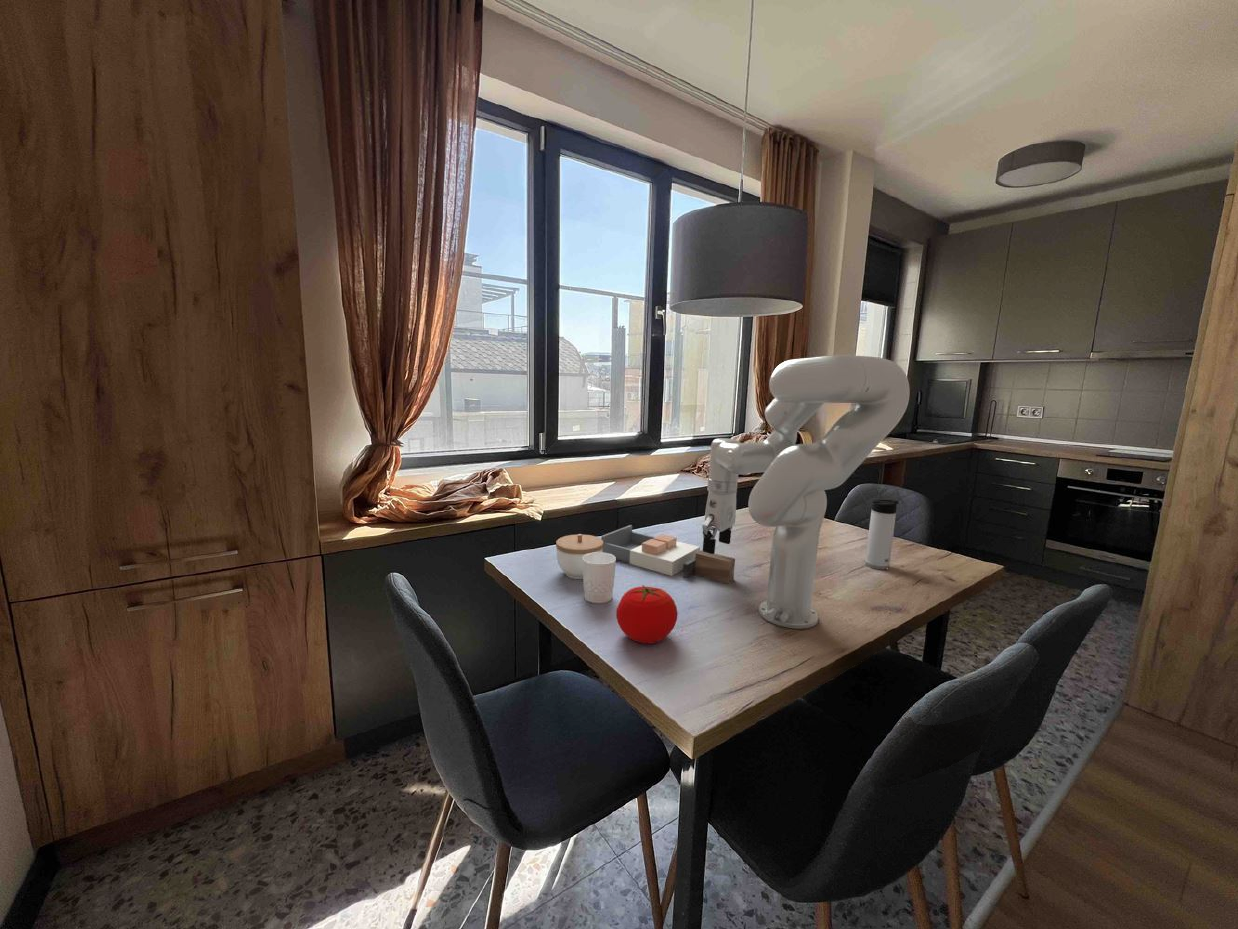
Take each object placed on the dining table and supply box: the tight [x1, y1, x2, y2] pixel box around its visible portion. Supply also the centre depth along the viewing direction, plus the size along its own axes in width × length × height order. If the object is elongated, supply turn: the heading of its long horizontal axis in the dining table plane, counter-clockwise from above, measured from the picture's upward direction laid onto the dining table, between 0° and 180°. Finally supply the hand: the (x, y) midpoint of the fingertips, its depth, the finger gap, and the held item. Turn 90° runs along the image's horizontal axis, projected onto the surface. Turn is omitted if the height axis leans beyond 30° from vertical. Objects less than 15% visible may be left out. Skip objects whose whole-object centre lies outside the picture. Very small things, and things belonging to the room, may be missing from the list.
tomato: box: [615, 584, 678, 644], centre depth 98 cm, size 11×12×10 cm
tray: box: [600, 524, 656, 565], centre depth 147 cm, size 15×10×6 cm
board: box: [629, 541, 701, 577], centre depth 140 cm, size 16×14×4 cm
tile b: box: [653, 533, 678, 550], centre depth 142 cm, size 5×5×2 cm
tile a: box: [642, 539, 666, 555], centre depth 138 cm, size 5×5×2 cm
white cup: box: [582, 552, 617, 604], centre depth 115 cm, size 8×8×10 cm
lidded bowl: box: [555, 533, 603, 580], centre depth 129 cm, size 13×13×11 cm
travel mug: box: [864, 499, 900, 570], centre depth 140 cm, size 6×7×20 cm
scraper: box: [682, 549, 736, 584], centre depth 131 cm, size 12×11×6 cm
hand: (716, 547), depth 130 cm, fingers open, 9 cm apart
